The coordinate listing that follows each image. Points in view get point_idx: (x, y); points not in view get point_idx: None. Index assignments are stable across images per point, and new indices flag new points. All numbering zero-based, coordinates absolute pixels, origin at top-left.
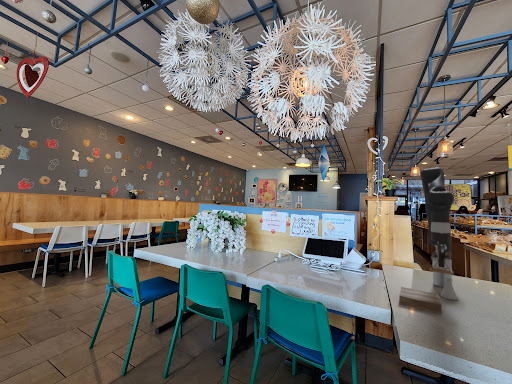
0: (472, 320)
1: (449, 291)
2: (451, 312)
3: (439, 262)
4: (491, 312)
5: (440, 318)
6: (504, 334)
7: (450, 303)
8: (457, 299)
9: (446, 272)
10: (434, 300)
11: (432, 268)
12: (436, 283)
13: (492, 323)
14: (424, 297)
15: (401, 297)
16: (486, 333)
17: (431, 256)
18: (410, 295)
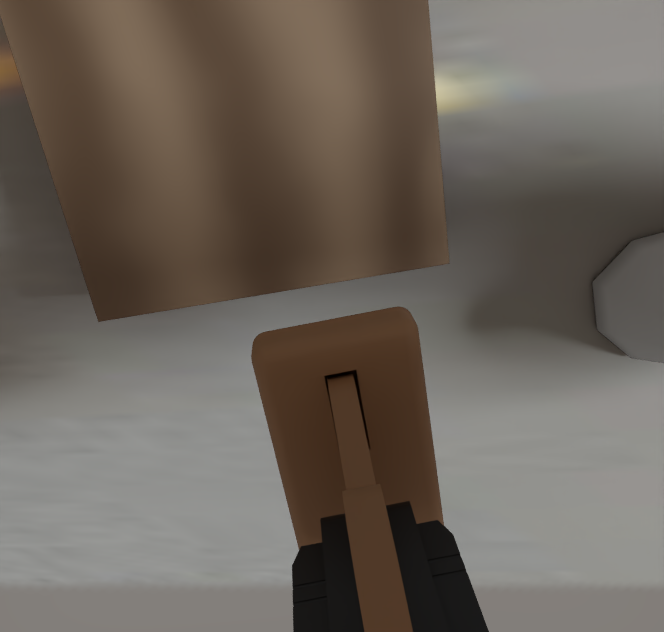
0: (196, 452)
1: (655, 328)
2: (240, 341)
3: (327, 598)
4: (491, 525)
5: (6, 294)
6: (115, 575)
7: (482, 316)
8: (628, 353)
9: (300, 547)
10: (183, 257)
11: (356, 372)
12: None
13: (255, 533)
14: (191, 166)
15: None
16: (26, 515)
17: (355, 562)
18: (113, 24)
